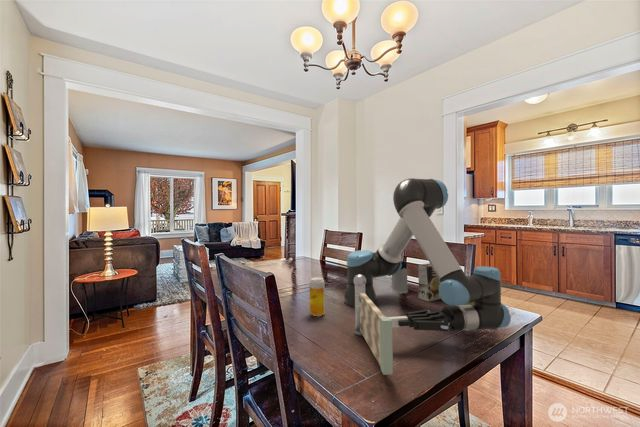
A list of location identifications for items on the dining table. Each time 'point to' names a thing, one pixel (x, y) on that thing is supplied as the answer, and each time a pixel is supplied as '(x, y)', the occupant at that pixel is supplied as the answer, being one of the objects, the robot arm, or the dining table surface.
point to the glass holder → (400, 280)
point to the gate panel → (377, 333)
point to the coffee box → (428, 283)
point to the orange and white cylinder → (317, 296)
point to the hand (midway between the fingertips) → (387, 322)
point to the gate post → (359, 288)
